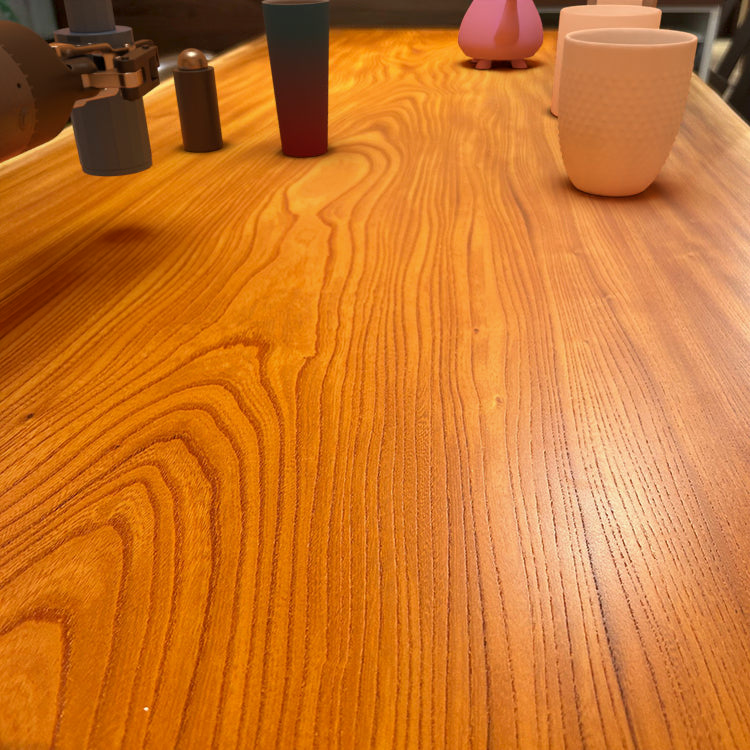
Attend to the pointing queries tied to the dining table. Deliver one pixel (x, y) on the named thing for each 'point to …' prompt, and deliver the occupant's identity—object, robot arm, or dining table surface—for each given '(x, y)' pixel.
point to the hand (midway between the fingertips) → (114, 53)
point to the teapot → (500, 32)
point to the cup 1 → (299, 72)
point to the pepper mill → (197, 102)
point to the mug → (621, 105)
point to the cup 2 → (598, 19)
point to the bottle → (105, 100)
